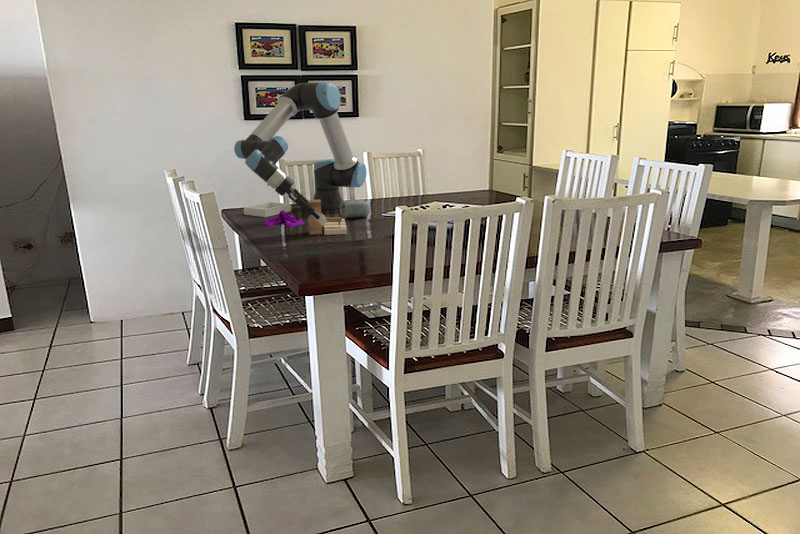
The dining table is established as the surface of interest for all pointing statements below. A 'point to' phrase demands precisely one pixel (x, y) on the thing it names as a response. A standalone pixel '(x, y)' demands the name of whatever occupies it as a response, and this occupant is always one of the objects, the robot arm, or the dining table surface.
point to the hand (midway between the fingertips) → (324, 222)
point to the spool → (354, 209)
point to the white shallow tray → (266, 209)
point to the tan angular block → (313, 224)
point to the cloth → (283, 220)
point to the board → (335, 228)
